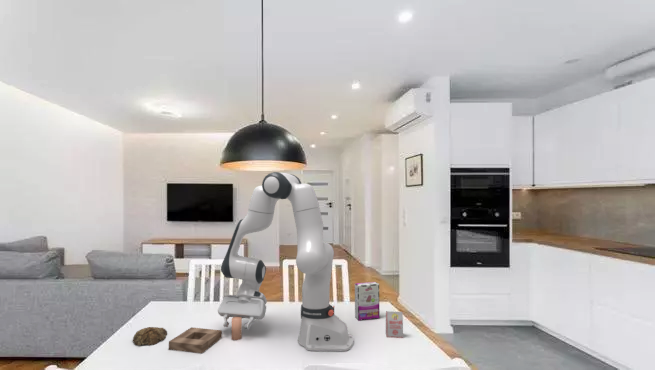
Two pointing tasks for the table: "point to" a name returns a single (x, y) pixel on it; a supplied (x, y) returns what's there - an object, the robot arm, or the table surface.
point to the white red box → (394, 324)
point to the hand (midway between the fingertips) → (235, 327)
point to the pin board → (195, 340)
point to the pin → (236, 328)
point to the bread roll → (149, 336)
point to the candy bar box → (367, 301)
